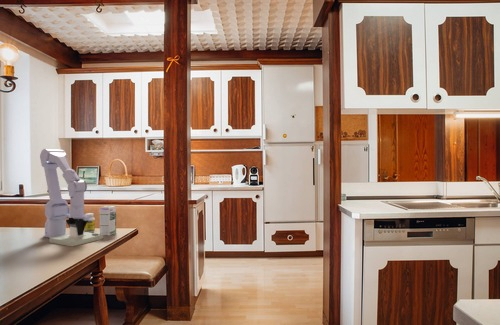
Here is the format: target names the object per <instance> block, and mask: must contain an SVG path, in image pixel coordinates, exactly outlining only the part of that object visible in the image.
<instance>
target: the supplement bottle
mask: <svg viewBox="0 0 500 325" xmlns="http://www.w3.org/2000/svg"><path fill="white" fill-rule="evenodd" d="M84 215H87V216H89V220H88V222H87V224H86V226H85V228H84V232H89V233H95V228H96V217H94V215H95V214H94V213H93V212H88V213H84Z"/></svg>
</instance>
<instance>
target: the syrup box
mask: <svg viewBox="0 0 500 325" xmlns="http://www.w3.org/2000/svg"><path fill="white" fill-rule="evenodd" d="M99 234H102V235H103V236H111V235H114V234H117V205H105V206H100V207H99Z"/></svg>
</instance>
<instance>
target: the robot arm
mask: <svg viewBox="0 0 500 325" xmlns="http://www.w3.org/2000/svg"><path fill="white" fill-rule="evenodd" d="M39 154H40V155H39V158H40V159H39V160H40V163H41V167H42V168H43V170H44V176H45V180H46V185H47V186H46V187H47V191H48V196H49V198H48V199H49V201H47V203H46V204H44V216H45V218H46V220H45V222H44V234H43V235H42V236H43V238H49V239H50V238H52V237H57V236H61V235H66V234H67V225H68V227H69V229H70V224H73V223H76V226H77V232H78V235H83V232H84V228H85V226H86V224H87V222H88V220H89V216H87V215H85V192H86V191H87V190H88V189H87V188H88V184H87V182H86V180H85V179H84V180H83V179H82V178H80V177H79V175H78V174H77V171H76V170H75V169H73V168H71V167H70V165H69V162H68V161H67V153H66V151H65V150H64V149H53V148H52V149H50V148H43V149H42V150H41V152H40V153H39ZM58 168H59V169H60V170H61V171H62V177H63V179H64V181H65V183H66V184H67V190H68V196H69V197H70V198H69V199H70V204H68V201H67V200H65V199H64V198H63V197H62V192H61V187H60V182H59V177H58V172H57V171H58V170H57V169H58ZM69 205H70V206H69ZM66 224H67V225H66Z"/></svg>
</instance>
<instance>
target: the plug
mask: <svg viewBox="0 0 500 325" xmlns="http://www.w3.org/2000/svg"><path fill="white" fill-rule="evenodd" d="M69 234H70V238H79V237H83V236H84V232H83V235H78V232H77V226H76V223H73V224H70V228H69Z"/></svg>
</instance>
